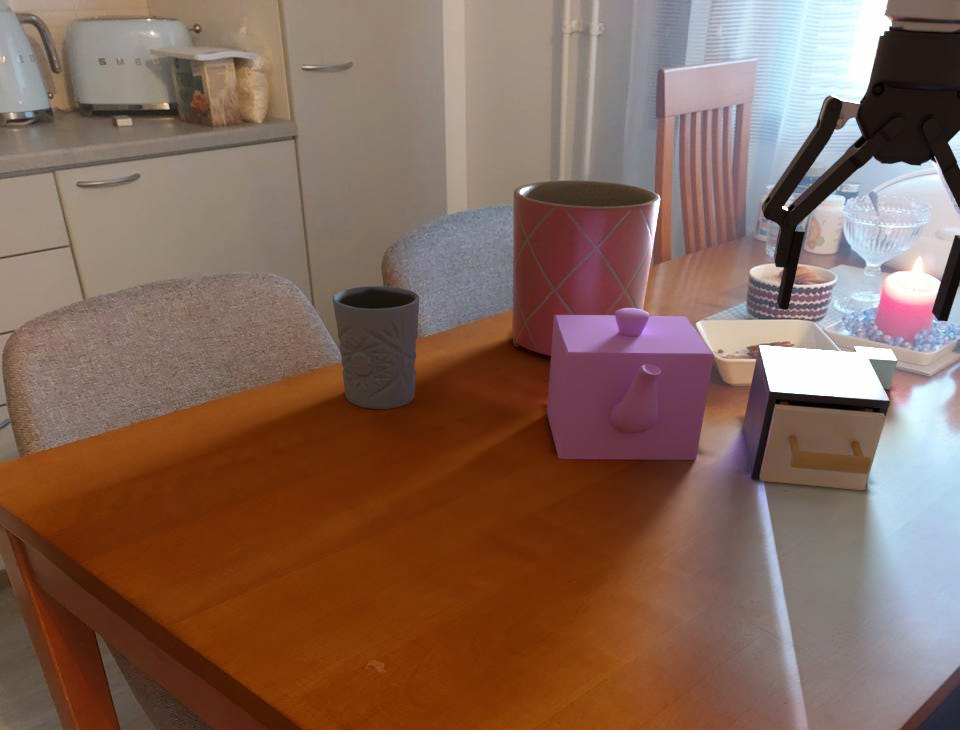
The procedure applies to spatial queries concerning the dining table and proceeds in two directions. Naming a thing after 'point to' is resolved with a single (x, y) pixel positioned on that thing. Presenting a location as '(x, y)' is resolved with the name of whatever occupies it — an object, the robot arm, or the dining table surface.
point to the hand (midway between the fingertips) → (859, 311)
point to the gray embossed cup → (378, 344)
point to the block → (880, 363)
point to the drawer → (821, 444)
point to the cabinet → (805, 388)
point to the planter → (578, 253)
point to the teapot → (627, 386)
